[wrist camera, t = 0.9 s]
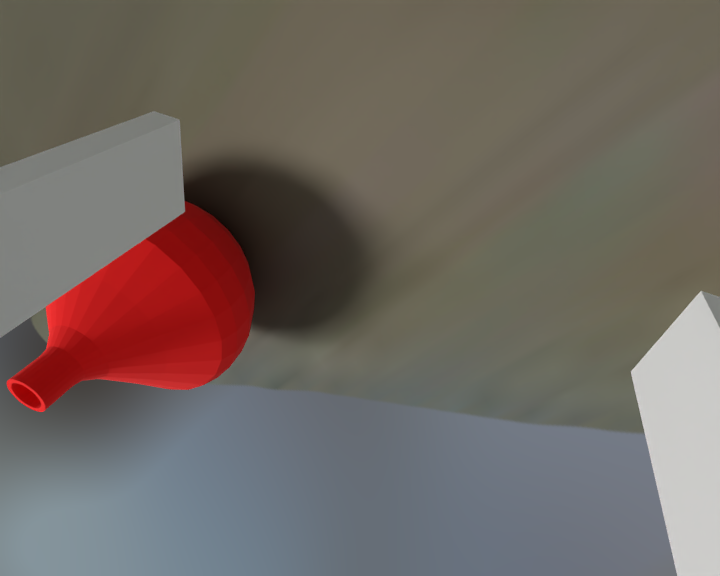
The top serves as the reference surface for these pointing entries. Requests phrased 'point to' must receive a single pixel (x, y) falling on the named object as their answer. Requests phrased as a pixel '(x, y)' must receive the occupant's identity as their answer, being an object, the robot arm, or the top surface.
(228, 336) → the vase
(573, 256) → the top surface
